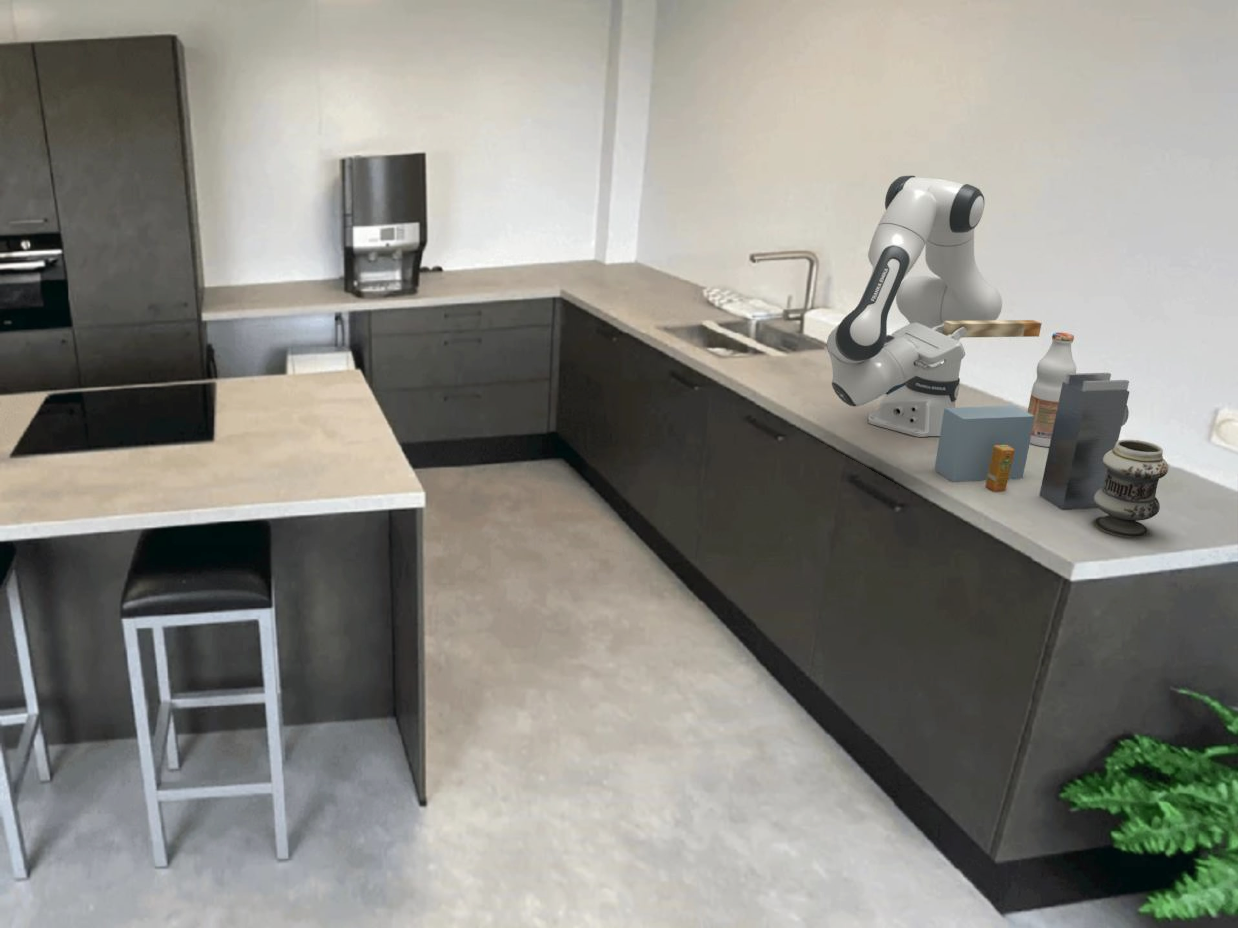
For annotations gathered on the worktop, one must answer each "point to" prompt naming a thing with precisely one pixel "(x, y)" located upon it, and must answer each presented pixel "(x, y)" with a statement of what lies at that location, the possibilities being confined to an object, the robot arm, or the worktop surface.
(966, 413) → the pale blue brick
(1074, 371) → the fruit juice
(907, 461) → the worktop surface
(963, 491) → the worktop surface
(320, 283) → the worktop surface
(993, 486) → the supplement box
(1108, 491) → the apothecary jar
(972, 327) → the tan wooden bar
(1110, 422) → the housing tower
